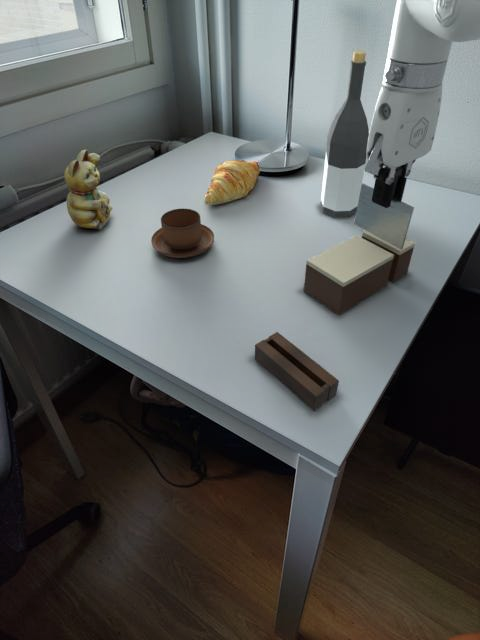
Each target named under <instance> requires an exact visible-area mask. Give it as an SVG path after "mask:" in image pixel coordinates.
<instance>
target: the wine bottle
mask: <svg viewBox="0 0 480 640" xmlns="http://www.w3.org/2000/svg"><path fill="white" fill-rule="evenodd" d="M366 56H367V52H366V51H364V50H355V51H353V55H352V60H350V70H349V78H348V87H347V94H346V96H347V97H346V99H345V100H344V102H343V103H342V105H341V107H340V108H339V110H338V112H337V113H336V115H335V116H334V118H333V120H332V122H331V124H330V126H329V127H330V128H329V131H328V133H327V138H326V149H325V155H324V156H325V157H324V168H323V175H322V184H321V185H322V186H321V195H320V208H321V212H322V214H324V215H327V216H330V217H332V218H334V219H336V218H337V219H339V218H350V217H352V216H353V215H355V214H356V211H357V206H358V201H359V196H360V191H361V185H362V183H363V181H364V173H365V167H366V164H367V163H366V162H367V155H366V152H367V143H368V137H369V131H370V128H369V124H368V118H367V116H366V112H365V110H364V106H363V104H362V100H361V97H362V91H363V84H364V77H365V69H366V66H367V61H366Z"/></svg>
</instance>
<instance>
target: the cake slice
mask: <svg viewBox="0 0 480 640" xmlns="http://www.w3.org/2000/svg"><path fill="white" fill-rule="evenodd" d="M361 238H363V239H365V240H367V241H369V242H371V243H372V244H374V245H376V246H378V247H380V248H382V249H384V250H386V251H388V252H390V253H392V254H393V255H394V257H393V262H392V266H391V270H390V274H389V278H388V282H389V281H390V282H391V283H394V282H396V281H398V280H399V279H401V278H403V277H404V276H406V275H407V274H408V271H409V268H410V263H411V260H412V256H413V253H414V249H415V246H416V242H414V241H412V240H410V239H408V238H407V237H406V238H405V241H404V245H403V248H402V250H401V249H399V248H397V247H395V246H393V245H392V244H390V243H388V242H386V241H384V240H382V239H381V238H379V237H377V236H375V235H373V234H371V233H370V232H368V231H366V230H364V231H362V233H361Z"/></svg>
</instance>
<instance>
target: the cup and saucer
mask: <svg viewBox="0 0 480 640" xmlns="http://www.w3.org/2000/svg"><path fill="white" fill-rule="evenodd" d="M160 223H161V227H160V228H159V229H157V230H156V231H155V232H154V233H153V235H152V236H151V239H150V240H151V241H150V242H151V245H152V248H153V249H154V250H155V251H156V252H157V253H159V254H161V255H163V256H166V257H169V258H174V259H175V258H176V259H184V258H185V259H186V258H192V257H195V256H198V255H200V254H202V253H204V252H206V251H207V250H208V249H210V248H211V246H212V245H213V243H214V241H215V234H214V232H213V230H212V229H211V228H210V227H208V226H206V225H205V224H203V223H202V221H201V214H200V213H199V212H198V211H196V210H194V209H190V208H175V209H170V210H169V211H166V212H164V214H162V215H161V217H160Z"/></svg>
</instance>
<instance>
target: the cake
mask: <svg viewBox="0 0 480 640" xmlns="http://www.w3.org/2000/svg"><path fill="white" fill-rule="evenodd" d="M393 257H394V255H393V254H392V253H390V252H388V251H386V250H384V249H382V248H380V247H378V246H376V245H374V244H372V243H371V242H369V241H367V240H365V239H363V238H362V236H359V235H357V234H356V235H354V236H352V237H350V238H347V239H346V240H344V241H342V242H339V243H338V244H336V245H334V246H332V247H330V248H328V249H326V250H324V251H322V252H320V253H318V254H316V255H314V256H312V257H310V258H307V259H306V264H305V274H304V284H303V293H306V294H307V295H308V296H310V297H311V298H313V299H315V300H316V301H318V302H319V303H321V305H323V306H324V307H326V308H328V309H329V310H331V311H332V312H333V313H335V314H337V315H338V316H340V315H342V314H343V313H344V312H347V311H348V310H349V309H351V308H353V307H354V306H356V305H357V304H359V303H362V301H364V300H366V299H368V298H369V297H371V296H373V295H374V294H376V293H377V292H380V291H382V290H383V289H385V288H386V287H387V286H388V282H389V280H388V278H389V274H390V270H391V266H392V262H393Z"/></svg>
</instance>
